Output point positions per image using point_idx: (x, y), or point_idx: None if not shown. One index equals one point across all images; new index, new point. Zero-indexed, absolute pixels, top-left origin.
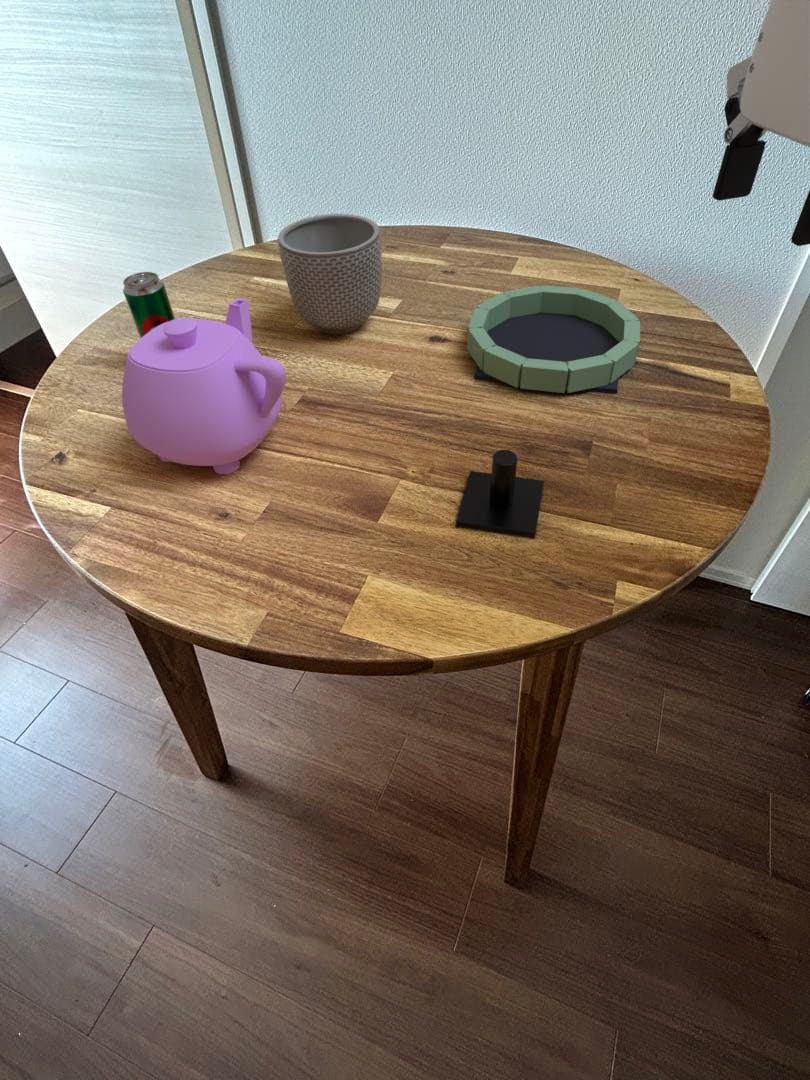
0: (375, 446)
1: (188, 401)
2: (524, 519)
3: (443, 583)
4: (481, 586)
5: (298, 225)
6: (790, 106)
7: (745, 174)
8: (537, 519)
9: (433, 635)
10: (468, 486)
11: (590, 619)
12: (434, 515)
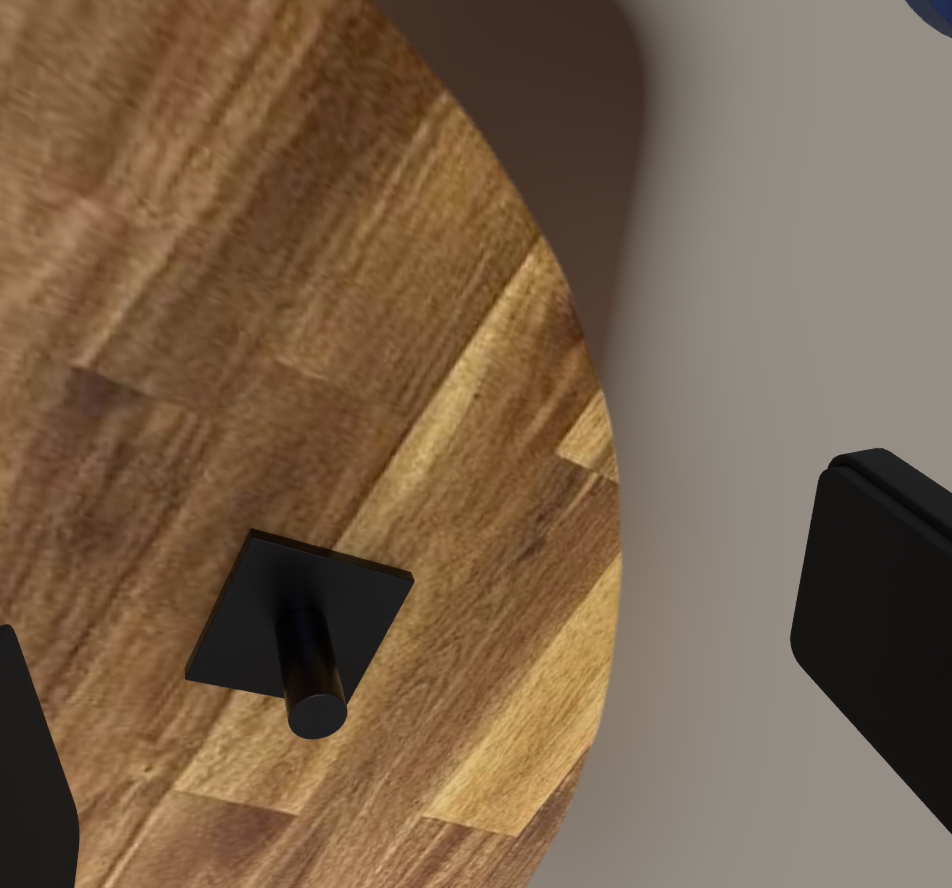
0: None
1: None
2: (372, 596)
3: (471, 718)
4: (495, 666)
5: None
6: None
7: (10, 834)
8: (377, 571)
9: (563, 730)
10: (241, 685)
11: (615, 519)
12: None
